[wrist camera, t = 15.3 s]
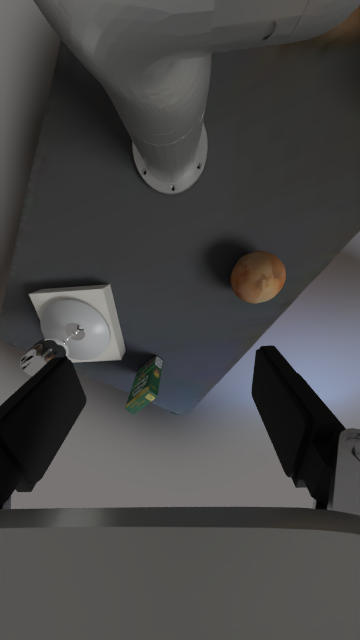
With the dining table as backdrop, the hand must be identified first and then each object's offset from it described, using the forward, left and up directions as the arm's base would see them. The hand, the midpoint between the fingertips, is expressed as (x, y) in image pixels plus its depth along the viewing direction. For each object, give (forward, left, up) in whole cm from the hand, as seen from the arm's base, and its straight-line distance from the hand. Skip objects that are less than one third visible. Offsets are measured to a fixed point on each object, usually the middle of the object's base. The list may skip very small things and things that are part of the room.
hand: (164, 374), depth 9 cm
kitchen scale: (+11, -24, -33) cm, 42 cm away
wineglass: (+11, -24, -28) cm, 38 cm away
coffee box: (+25, -10, -34) cm, 43 cm away
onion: (+2, +15, -34) cm, 37 cm away
